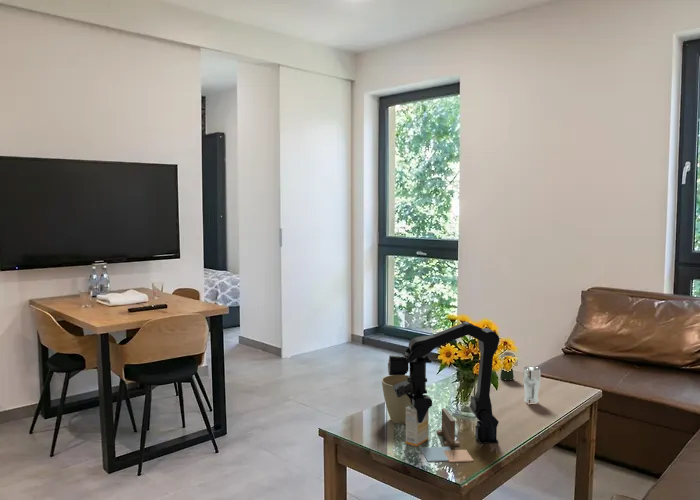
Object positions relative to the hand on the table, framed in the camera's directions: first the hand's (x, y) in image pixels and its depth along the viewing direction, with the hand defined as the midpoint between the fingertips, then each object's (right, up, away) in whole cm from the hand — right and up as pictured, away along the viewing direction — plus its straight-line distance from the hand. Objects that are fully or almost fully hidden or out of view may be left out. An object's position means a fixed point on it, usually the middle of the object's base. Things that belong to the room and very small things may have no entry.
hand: (417, 417), depth 193 cm
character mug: (+52, -4, +72) cm, 89 cm away
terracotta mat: (+12, -9, -11) cm, 19 cm away
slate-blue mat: (+6, -9, -10) cm, 15 cm away
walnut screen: (+11, -8, +3) cm, 14 cm away
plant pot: (-4, -7, +20) cm, 22 cm away
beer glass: (+53, -6, +40) cm, 67 cm away
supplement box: (0, -9, +1) cm, 9 cm away
